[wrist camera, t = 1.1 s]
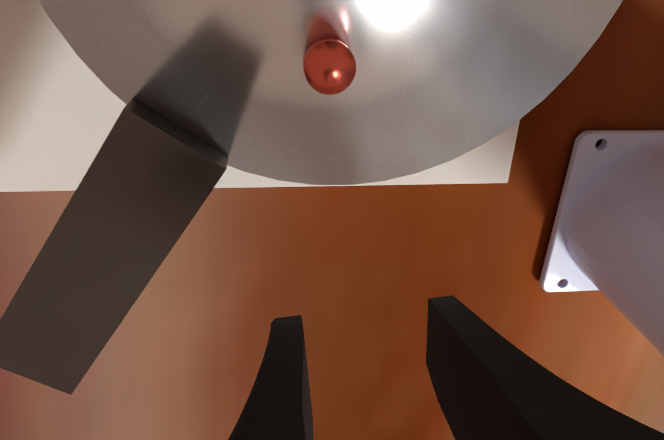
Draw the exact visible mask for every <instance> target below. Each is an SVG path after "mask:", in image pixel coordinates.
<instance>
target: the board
mask: <svg viewBox="0 0 664 440" xmlns="http://www.w3.org/2000/svg"><path fill="white" fill-rule="evenodd" d="M125 106H126V104H125V103H124V102H123V101H122V100H121V99H120V98H118V97H117V96H116V95H115V94H114V93H113V92H111V91H110V90H109V89H108V88H107V87H106V86H105V85H104V84H103V83H102V81H101V80H100V79H99V78H98V77H97V76H96V75H95V74H94V73H93V72H92V71H91V70H90V69H89V67H88V66H87V65H86V64H85V63H84V62H83V61H82V60H81V59H80V58H79V57H78V56H77V54H76V53H75V52H74V50H73V49H72V48H71V46H70V45H69V44H68V42H67V41H66V39H65V38H64V37H63V35H62V34H61V33H60V31H59V30H58V29H57V27H56V26H55V25H54V23H53V22H52V21H51V19H50V18H49V16H48V15H47V13H46V12H45V10H44V8H43V7H42V5H41V3H40V1H39V0H0V192H15V191H72V190H76V189H77V188H78V186H79V184H80V182H81V181H82V179H83V177H84V176H85V174H86V172H87V170H88V169H89V167H90V165H91V164H92V162H93V160H94V158H95V157H96V155H97V153H98V152H99V150H100V148H101V146H102V145H103V143H104V141H105V140H106V138H107V136H108V134H109V133H110V131H111V129H112V128H113V126H114V124H115V123H116V121H117V119H118V117H119V116H120V114H121V112H122V111H123V109H124V107H125ZM519 123H520V120H519V121H517V122H516V123H515V124H513V125H512V126H510V127H509V128H507V129H506V130H504V131H503V132H501V133H500V134H498V135H497V136H495V137H494V138H492V139H491V140H489V141H488V142H486V143H485V144H483V145H481V146H479V147H477V148H475V149H473V150H471V151H469V152H467V153H465V154H463V155H461V156H459V157H457V158H455V159H453V160H451V161H449V162H446V163H443V164H440V165H438V166H435V167H432V168H430V169H427V170H424V171H422V172H419V173H415V174H411V175H407V176H403V177H399V178H394V179H390V180H386V181H380V182H371V183H363V184H355V185H311V184H303V183H295V182H287V181H279V180H275V179H271V178H267V177H263V176H259V175H255V174H251V173H247V172H244V171H241V170H239V169H236V168H233V167H231V166H228V165H227V169H226V171H225V172H224V174H223V175H222V176H221V178H220V179H219V181H218V182H217V184H216V185H215V187H214V188H243V187H300V186H357V185H414V184H470V183H508V178H509V173H510V168H511V163H512V158H513V153H514V148H515V143H516V138H517V133H518V128H519Z"/></svg>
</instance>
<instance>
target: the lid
mask: <svg viewBox="0 0 664 440" xmlns="http://www.w3.org/2000/svg"><path fill="white" fill-rule="evenodd" d="M39 1H40V3H41V5H42V7H43V8H44V10H45V12H46V13H47V15H48V16H49V18H50V19H51V21H52V22H53V23H54V25H55V26H56V27H57V29H58V30H59V31H60V33H61V34H62V35H63V37H64V38H65V39H66V41H67V42H68V44H69V45H70V46H71V48H72V49H73V50H74V52H75V53H76V54H77V56H78V57H79V58H80V59H81V60H82V61H83V62H84V63H85V64H86V65H87V66H88V67H89V69H90V70H91V71H92V72H93V73H94V74H95V75H96V76H97V77H98V78H99V79H100V80H101V81H102V83H103V84H104V85H105V86H106V87H107V88H108V89H109V90H110V91H111V92H113V93H114V94H115V95H116V96H117V97H118V98H120V99H121V100H122V101H123V102H124V103H125V104H126V106H125V107H124V109H123V111H122V112H121V114H120V116H119V117H118V119H117V121H116V123H115V124H114V126H113V128H112V129H111V131H110V133H109V134H108V136H107V138H106V140H105V141H104V143H103V145H102V146H101V148H100V150H99V152H98V153H97V155H96V157H95V158H94V160H93V162H92V164H91V165H90V167H89V169H88V170H87V172H86V174H85V176H84V177H83V179H82V181H81V182H80V184H79V186H78V188H77V189H76V191H75V193H74V194H73V196H72V198H71V200H70V201H69V203H68V205H67V206H66V208H65V210H64V212H63V213H62V215H61V217H60V218H59V220H58V222H57V224H56V225H55V227H54V229H53V230H52V232H51V234H50V236H49V237H48V239H47V241H46V242H45V244H44V246H43V248H42V249H41V251H40V253H39V254H38V256H37V258H36V260H35V261H34V263H33V265H32V266H31V268H30V270H29V272H28V273H27V275H26V277H25V278H24V280H23V282H22V283H21V285H20V287H19V289H18V290H17V292H16V294H15V295H14V297H13V299H12V301H11V302H10V304H9V306H8V307H7V309H6V311H5V313H4V314H3V316H2V318H1V319H0V368H2V369H5V370H8V371H10V372H13V373H15V374H18V375H21V376H23V377H26V378H29V379H31V380H34V381H36V382H39V383H42V384H44V385H47V386H50V387H52V388H55V389H57V390H60V391H63V392H65V393H68V394H72V393H73V391H74V390H75V388H76V387H77V385H78V384H79V382H80V381H81V380H82V378H83V377H84V375H85V374H86V372H87V371H88V369H89V368H90V366H91V365H92V364H93V362H94V361H95V359H96V358H97V356H98V355H99V353H100V352H101V351H102V349H103V348H104V346H105V345H106V343H107V342H108V340H109V339H110V337H111V336H112V335H113V333H114V332H115V330H116V329H117V327H118V326H119V324H120V323H121V322H122V320H123V319H124V317H125V316H126V314H127V313H128V311H129V310H130V308H131V307H132V306H133V304H134V303H135V301H136V300H137V298H138V297H139V295H140V294H141V292H142V291H143V290H144V288H145V287H146V285H147V284H148V282H149V281H150V279H151V278H152V277H153V275H154V274H155V272H156V271H157V269H158V268H159V266H160V265H161V263H162V262H163V261H164V259H165V258H166V256H167V255H168V253H169V252H170V250H171V249H172V248H173V246H174V245H175V243H176V242H177V240H178V239H179V237H180V236H181V234H182V233H183V232H184V230H185V229H186V227H187V226H188V224H189V223H190V221H191V220H192V219H193V217H194V216H195V214H196V213H197V211H198V210H199V208H200V207H201V205H202V204H203V203H204V201H205V200H206V198H207V197H208V195H209V194H210V192H211V191H212V190H213V188H214V187H215V185H216V184H217V182H218V181H219V179H220V178H221V176H222V175H223V174H224V172H225V171H226V169H227V165H228V166H231V167H233V168H236V169H239V170H241V171H244V172H247V173H251V174H255V175H259V176H263V177H267V178H271V179H275V180H279V181H287V182H295V183H303V184H311V185H355V184H363V183H371V182H380V181H386V180H390V179H394V178H399V177H403V176H407V175H411V174H415V173H419V172H422V171H424V170H427V169H430V168H432V167H435V166H438V165H440V164H443V163H446V162H449V161H451V160H453V159H455V158H457V157H459V156H461V155H463V154H465V153H467V152H469V151H471V150H473V149H475V148H477V147H479V146H481V145H483V144H485V143H486V142H488V141H489V140H491V139H492V138H494V137H495V136H497V135H498V134H500V133H501V132H503V131H504V130H506V129H507V128H509V127H510V126H512V125H513V124H515V123H516V122H517V121H519V120H520V119H521V118H522V117H523V116H525V115H526V114H527V113H528V112H530V111H531V110H532V109H533V108H534V107H536V106H537V105H538V104H539V103H540V102H542V101H543V100H544V99H545V98H546V97H547V96H548V95H549V94H550V93H551V92H552V91H553V90H554V89H555V88H556V87H557V86H558V85H559V84H560V83H561V82H562V81H563V80H564V79H565V78H566V77H567V76H568V75H569V74H570V73H571V72H572V71H573V69H574V68H575V67H576V66H577V64H578V63H579V62H580V61H581V59H582V58H583V57H584V56H585V54H586V53H587V52H588V51H589V49H590V48H591V47H592V46H593V44H594V43H595V42H596V41H597V39H598V38H599V37H600V35H601V34H602V32H603V31H604V29H605V28H606V26H607V24H608V23H609V21H610V20H611V18H612V17H613V15H614V14H615V12H616V11H617V9H618V7H619V6H620V4H621V3H622V1H623V0H39Z"/></svg>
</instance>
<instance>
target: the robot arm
mask: <svg viewBox="0 0 664 440" xmlns="http://www.w3.org/2000/svg"><path fill="white" fill-rule="evenodd" d="M599 139H602V142H601V144H600V145H599V146H598V147H595V144H596V142H597V141H598V140H599ZM562 279H563V281H562V282H561V283H558V282H559V281H560V280H562ZM539 284H540V286H541V287H542V288H543V290H545V291H546V292H564V291H588V290H600V291H601V292H602V293H603V294H604V295H605V296H606V297H607V298H608V299H609V300H610V301H611V302H612V303H613V304H614V305H615V306H616V308H617V309H618V310H619V311H620V312H621V313H622V314H623V315H624V316H625V317H626V318H627V319H628V320H629V321H630V322H631V323H632V324H633V325H634V326H635V327H636V328H637V329H638V330H639V331H640V332H641V333H642V334H643V335H644V336H645V337H646V338H647V339H648V340H649V341H650V342H651V343H652V344H653V345H654V346H655V347H656V349H657V350H658V351H659V352H660V353H661V354H662V355H663V356H664V130H588V131H584V132H582V133H581V134H579V135H578V137H577V138H576V140H575V142H574V146H573V150H572V154H571V158H570V162H569V166H568V170H567V174H566V178H565V182H564V186H563V190H562V194H561V198H560V202H559V206H558V210H557V214H556V217H555V221H554V225H553V229H552V233H551V237H550V241H549V245H548V249H547V253H546V257H545V261H544V265H543V269H542V273H541V277H540V283H539ZM426 364H427V367H428V371H429V374H430V377H431V381H432V384H433V387H434V390H435V393H436V396H437V399H438V402H439V404H440V406H441V409H442V411H443V413H444V415H445V418H446V420H447V422H448V424H449V426H450V429H451V431H452V433H453V435H454V437H455V440H664V434H663V433H661V432H659V431H657V430H655V429H653V428H650V427H648V426H646V425H644V424H642V423H640V422H638V421H636V420H634V419H632V418H630V417H628V416H626V415H624V414H622V413H620V412H618V411H616V410H614V409H612V408H610V407H608V406H607V405H605V404H603V403H601V402H599V401H597V400H596V399H594V398H592V397H591V396H589V395H587V394H585V393H584V392H582V391H580V390H579V389H577V388H575V387H574V386H572V385H570V384H569V383H567V382H565V381H564V380H562V379H561V378H559V377H558V376H556V375H555V374H553V373H552V372H550V371H549V370H547V369H546V368H544V367H543V366H541V365H540V364H539V363H537V362H536V361H534V360H533V359H531V358H530V357H529V356H527V355H526V354H525V353H523V352H522V351H520V350H519V349H518V348H516V347H515V346H514V345H513V344H511V343H510V342H509V341H507V340H506V339H505V338H504V337H502V336H501V335H500V334H499V333H497V332H496V331H495V330H494V329H492V328H491V327H490V326H489V325H488V324H486V323H485V322H484V321H483V320H482V319H480V318H479V317H478V316H477V315H476V314H474V313H473V312H472V311H471V310H470V309H469V308H467V307H466V306H465V305H464V304H463V303H461V302H460V301H459V300H458V299H457V298H455V297H454V296H446V297H438V298H430V299H428V325H427V352H426ZM228 440H313V417H312V408H311V398H310V388H309V379H308V369H307V360H306V350H305V340H304V332H303V325H302V318H301V315H299V316H291V317H283V318H276V319H274V321H273V322H272V323H271V329H270V335H269V340H268V344H267V348H266V351H265V354H264V358H263V361H262V364H261V366H260V369H259V372H258V375H257V378H256V380H255V383H254V386H253V388H252V391H251V393H250V395H249V397H248V400H247V402H246V404H245V406H244V409H243V411H242V413H241V415H240V418H239V420H238V422H237V424H236V426H235V428H234V430H233V431H232V433H231V435H230V437H229V439H228Z"/></svg>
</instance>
